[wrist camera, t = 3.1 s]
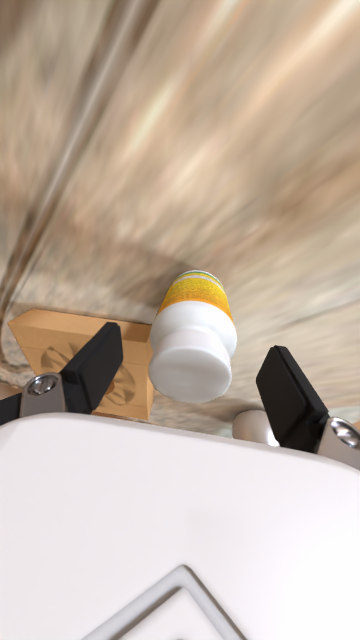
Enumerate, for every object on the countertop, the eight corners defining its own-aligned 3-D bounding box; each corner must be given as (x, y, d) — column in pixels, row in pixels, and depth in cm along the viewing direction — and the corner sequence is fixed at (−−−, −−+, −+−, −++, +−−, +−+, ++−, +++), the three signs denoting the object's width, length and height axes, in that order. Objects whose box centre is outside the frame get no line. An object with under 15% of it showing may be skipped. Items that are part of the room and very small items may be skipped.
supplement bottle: (226, 317, 17) (248, 412, 9) (175, 323, 18) (152, 412, 10) (222, 263, 14) (247, 328, 6) (161, 274, 15) (116, 342, 7)
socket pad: (32, 308, 19) (6, 322, 17) (154, 325, 19) (146, 343, 16) (65, 386, 27) (51, 404, 24) (153, 400, 26) (148, 420, 24)
